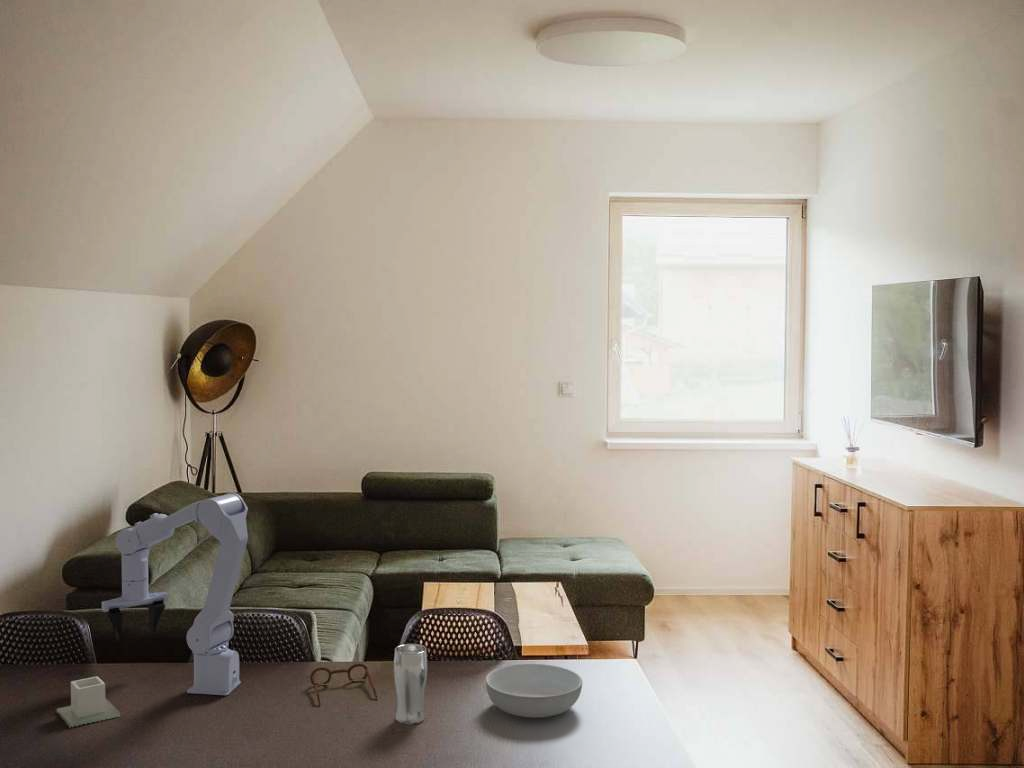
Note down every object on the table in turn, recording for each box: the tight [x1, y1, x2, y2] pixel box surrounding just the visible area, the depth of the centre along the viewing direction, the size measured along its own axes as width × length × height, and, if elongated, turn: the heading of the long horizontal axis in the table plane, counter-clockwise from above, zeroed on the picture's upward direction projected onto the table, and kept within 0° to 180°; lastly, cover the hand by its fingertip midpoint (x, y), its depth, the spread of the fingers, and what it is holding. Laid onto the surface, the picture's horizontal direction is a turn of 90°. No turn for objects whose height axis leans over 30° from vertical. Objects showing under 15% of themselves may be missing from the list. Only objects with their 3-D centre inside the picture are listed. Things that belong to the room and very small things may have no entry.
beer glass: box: [393, 643, 428, 725], centre depth 212 cm, size 7×7×15 cm
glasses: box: [310, 662, 378, 706], centre depth 226 cm, size 13×13×5 cm
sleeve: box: [70, 676, 106, 718], centre depth 212 cm, size 5×5×6 cm
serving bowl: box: [485, 663, 583, 719], centre depth 218 cm, size 21×21×7 cm
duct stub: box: [56, 697, 121, 729], centre depth 212 cm, size 10×10×4 cm
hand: (135, 636), depth 234 cm, fingers open, 7 cm apart
